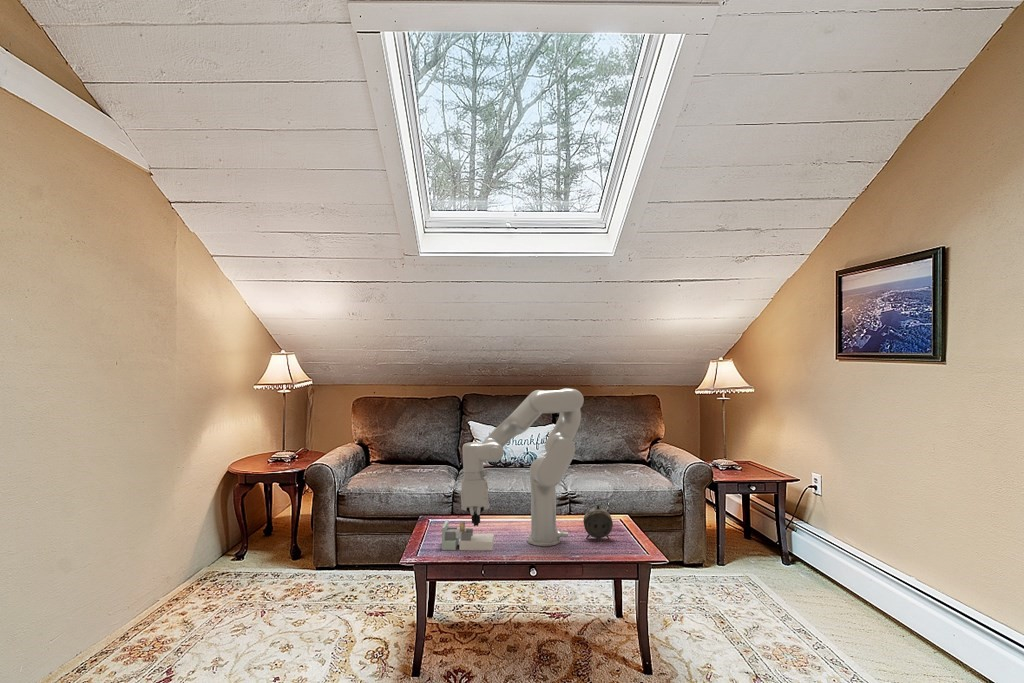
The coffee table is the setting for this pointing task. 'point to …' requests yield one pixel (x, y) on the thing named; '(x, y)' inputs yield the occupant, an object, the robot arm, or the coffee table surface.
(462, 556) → the coffee table surface
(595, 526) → the alarm clock
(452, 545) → the door jamb
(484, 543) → the door board
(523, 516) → the coffee table surface
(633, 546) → the coffee table surface
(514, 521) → the coffee table surface
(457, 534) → the bolt
